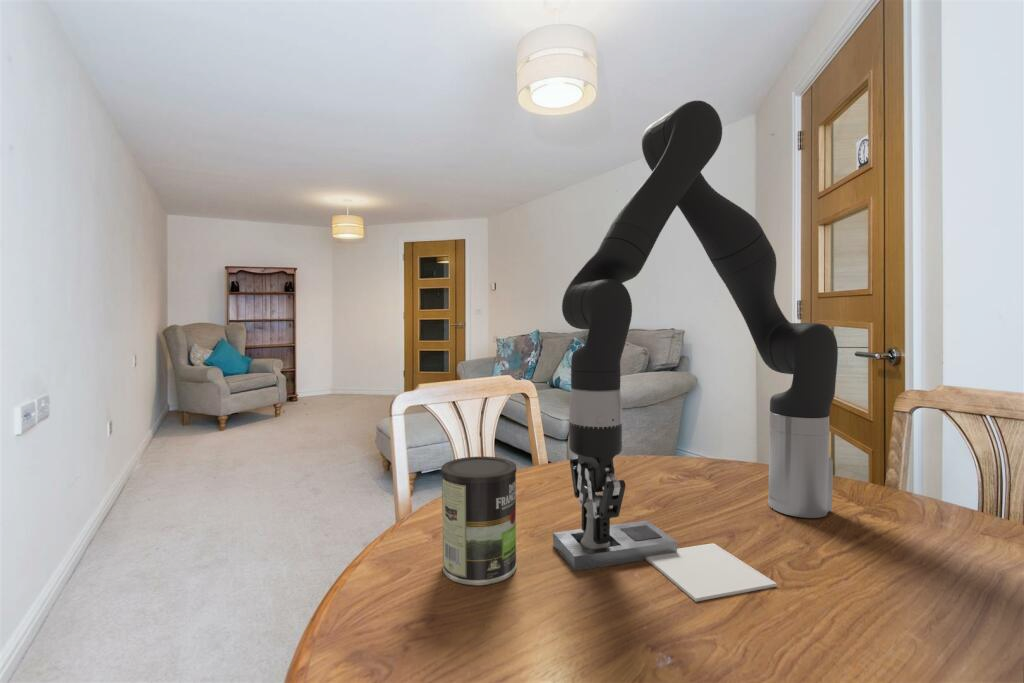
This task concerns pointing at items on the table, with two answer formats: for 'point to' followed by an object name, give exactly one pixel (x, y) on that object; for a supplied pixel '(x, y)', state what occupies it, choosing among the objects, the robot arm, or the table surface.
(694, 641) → the table surface
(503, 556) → the coffee can
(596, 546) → the rook chess piece
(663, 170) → the robot arm
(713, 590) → the mat
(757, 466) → the table surface
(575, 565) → the grey rectangular frame
